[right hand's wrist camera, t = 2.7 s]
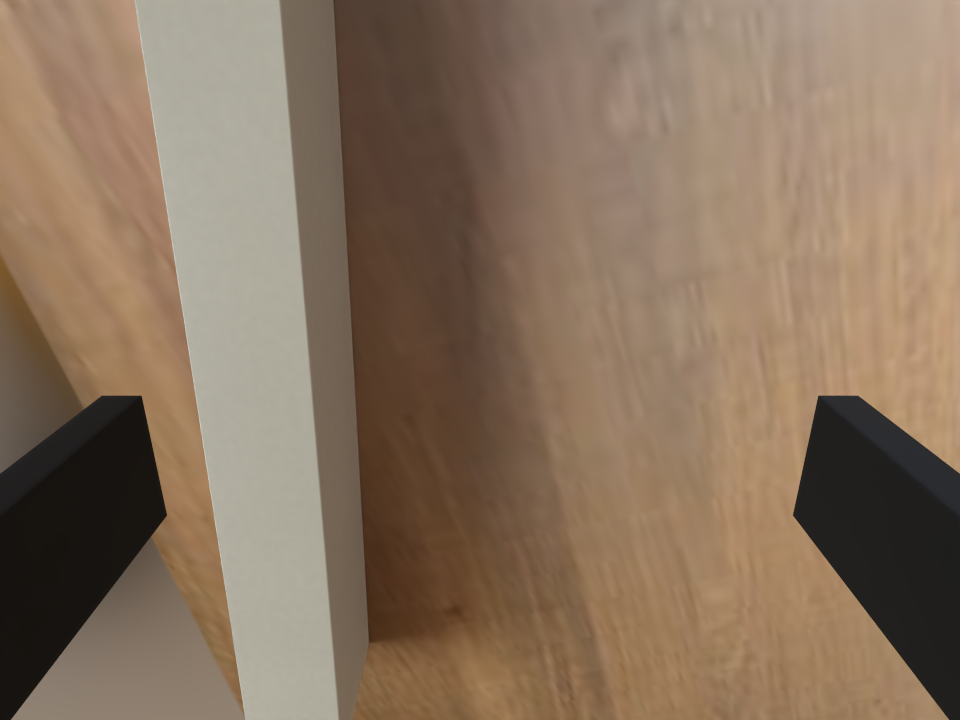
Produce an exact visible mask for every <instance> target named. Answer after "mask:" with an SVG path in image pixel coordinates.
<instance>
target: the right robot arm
mask: <svg viewBox="0 0 960 720" xmlns="http://www.w3.org/2000/svg"><path fill="white" fill-rule="evenodd" d="M166 516H167V513H166V509H165V504H164V499H163V495H162V490H161V485H160V480H159V476H158V471H157V466H156V462H155V457H154V452H153V447H152V443H151V438H150V433H149V429H148V424H147V419H146V415H145V410H144V405H143V400H142V396H101V397H100V398H98V399H97V400H96V401H95V402H93V403H92V404H91V405H89V406H88V407H87V408H85V409H84V410H83V411H82V412H80V413H79V414H78V415H76V416H75V417H74V418H72V419H71V420H70V421H68V422H67V423H66V424H65V425H63V426H62V427H61V428H59V429H58V430H57V431H55V432H54V433H53V434H52V435H50V436H49V437H48V438H46V439H45V440H44V441H42V442H41V443H40V444H38V445H37V446H36V447H35V448H33V449H32V450H31V451H29V452H28V453H27V454H25V455H24V456H23V457H22V458H20V459H19V460H18V461H16V462H15V463H14V464H12V465H11V466H10V467H9V468H7V469H6V470H5V471H3V472H2V473H1V474H0V720H11V719H12V717H13V716H14V715H15V714H16V712H17V711H18V710H19V708H20V707H21V706H22V704H23V703H24V702H25V700H26V699H27V698H28V697H29V695H30V694H31V693H32V691H33V690H34V689H35V687H36V686H37V685H38V683H39V682H40V681H41V680H42V678H43V677H44V676H45V674H46V673H47V672H48V670H49V669H50V668H51V666H52V665H53V664H54V663H55V661H56V660H57V659H58V657H59V656H60V655H61V653H62V652H63V651H64V649H65V648H66V647H67V645H68V644H69V643H70V642H71V640H72V639H73V638H74V636H75V635H76V634H77V632H78V631H79V630H80V629H81V627H82V626H83V624H84V623H85V622H86V621H87V619H88V618H89V617H90V615H91V614H92V613H93V611H94V610H95V609H96V608H97V606H98V605H99V604H100V602H101V601H102V600H103V598H104V597H105V596H106V594H107V593H108V592H109V590H110V589H111V588H112V587H113V585H114V584H115V583H116V581H117V580H118V579H119V577H120V576H121V575H122V574H123V572H124V571H125V570H126V568H127V567H128V566H129V564H130V563H131V562H132V560H133V559H134V558H135V557H136V555H137V554H138V553H139V551H140V550H141V549H142V547H143V546H144V545H145V543H146V542H147V541H148V540H149V538H150V537H151V536H152V534H153V533H154V532H155V530H156V529H157V528H158V526H159V525H160V524H161V523H162V521H163V520H164V519H165V517H166ZM793 516H794V517H795V519H796V520H797V521H798V523H799V524H800V525H801V526H802V528H803V529H804V530H805V532H806V533H807V534H808V536H809V537H810V538H811V540H812V541H813V542H814V543H815V545H816V546H817V547H818V549H819V550H820V551H821V553H822V554H823V555H824V557H825V558H826V559H827V560H828V562H829V563H830V564H831V566H832V567H833V568H834V570H835V571H836V572H837V574H838V575H839V576H840V577H841V579H842V580H843V581H844V583H845V584H846V585H847V587H848V588H849V589H850V591H851V592H852V593H853V594H854V596H855V597H856V598H857V600H858V601H859V602H860V604H861V605H862V606H863V608H864V609H865V610H866V611H867V613H868V614H869V615H870V617H871V618H872V619H873V621H874V622H875V623H876V625H877V626H878V627H879V629H880V630H881V631H882V632H883V634H884V635H885V636H886V638H887V639H888V640H889V642H890V643H891V644H892V646H893V647H894V648H895V649H896V651H897V652H898V653H899V655H900V656H901V657H902V659H903V660H904V661H905V663H906V664H907V665H908V666H909V668H910V669H911V670H912V672H913V673H914V674H915V676H916V677H917V678H918V680H919V681H920V682H921V683H922V685H923V686H924V687H925V689H926V690H927V691H928V693H929V694H930V695H931V697H932V698H933V699H934V700H935V702H936V703H937V704H938V706H939V707H940V708H941V710H942V711H943V712H944V714H945V715H946V716H947V717H948V719H949V720H960V474H959V473H958V472H957V471H955V470H954V469H953V468H951V467H950V466H949V465H948V464H946V463H945V462H944V461H942V460H941V459H940V458H938V457H937V456H936V455H935V454H933V453H932V452H931V451H929V450H928V449H927V448H925V447H924V446H923V445H922V444H920V443H919V442H918V441H916V440H915V439H914V438H912V437H911V436H910V435H908V434H907V433H906V432H905V431H903V430H902V429H901V428H899V427H898V426H897V425H895V424H894V423H893V422H892V421H890V420H889V419H888V418H886V417H885V416H884V415H882V414H881V413H880V412H878V411H877V410H876V409H875V408H873V407H872V406H871V405H869V404H868V403H867V402H865V401H864V400H863V399H862V398H860V397H859V396H818V400H817V405H816V410H815V415H814V419H813V424H812V429H811V433H810V438H809V443H808V447H807V452H806V457H805V462H804V466H803V471H802V476H801V480H800V485H799V490H798V495H797V499H796V504H795V509H794V513H793Z"/></svg>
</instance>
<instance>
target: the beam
mask: <svg viewBox="0 0 960 720" xmlns="http://www.w3.org/2000/svg"><path fill="white" fill-rule="evenodd" d="M135 6H136V12H137V19H138V25H139V32H140V38H141V45H142V51H143V58H144V64H145V70H146V77H147V83H148V90H149V96H150V103H151V109H152V116H153V122H154V129H155V135H156V142H157V148H158V155H159V161H160V168H161V174H162V181H163V187H164V194H165V200H166V207H167V213H168V220H169V226H170V233H171V239H172V245H173V252H174V258H175V265H176V271H177V278H178V284H179V291H180V297H181V304H182V310H183V317H184V323H185V330H186V336H187V343H188V349H189V356H190V362H191V369H192V375H193V382H194V388H195V395H196V401H197V408H198V414H199V420H200V427H201V433H202V440H203V446H204V453H205V459H206V466H207V472H208V479H209V485H210V492H211V498H212V505H213V511H214V518H215V524H216V531H217V537H218V544H219V550H220V557H221V563H222V570H223V576H224V583H225V589H226V595H227V602H228V608H229V615H230V621H231V628H232V634H233V641H234V647H235V654H236V660H237V667H238V673H239V680H240V686H241V693H242V699H243V706H244V712H245V719H246V720H352V718H353V714H354V709H355V705H356V700H357V696H358V691H359V687H360V682H361V678H362V673H363V669H364V664H365V660H366V655H367V651H368V647H369V632H368V614H367V596H366V578H365V560H364V542H363V524H362V506H361V488H360V470H359V452H358V434H357V416H356V398H355V380H354V362H353V344H352V326H351V308H350V290H349V272H348V253H347V235H346V217H345V199H344V181H343V163H342V145H341V127H340V109H339V91H338V73H337V55H336V37H335V19H334V1H333V0H135Z"/></svg>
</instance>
